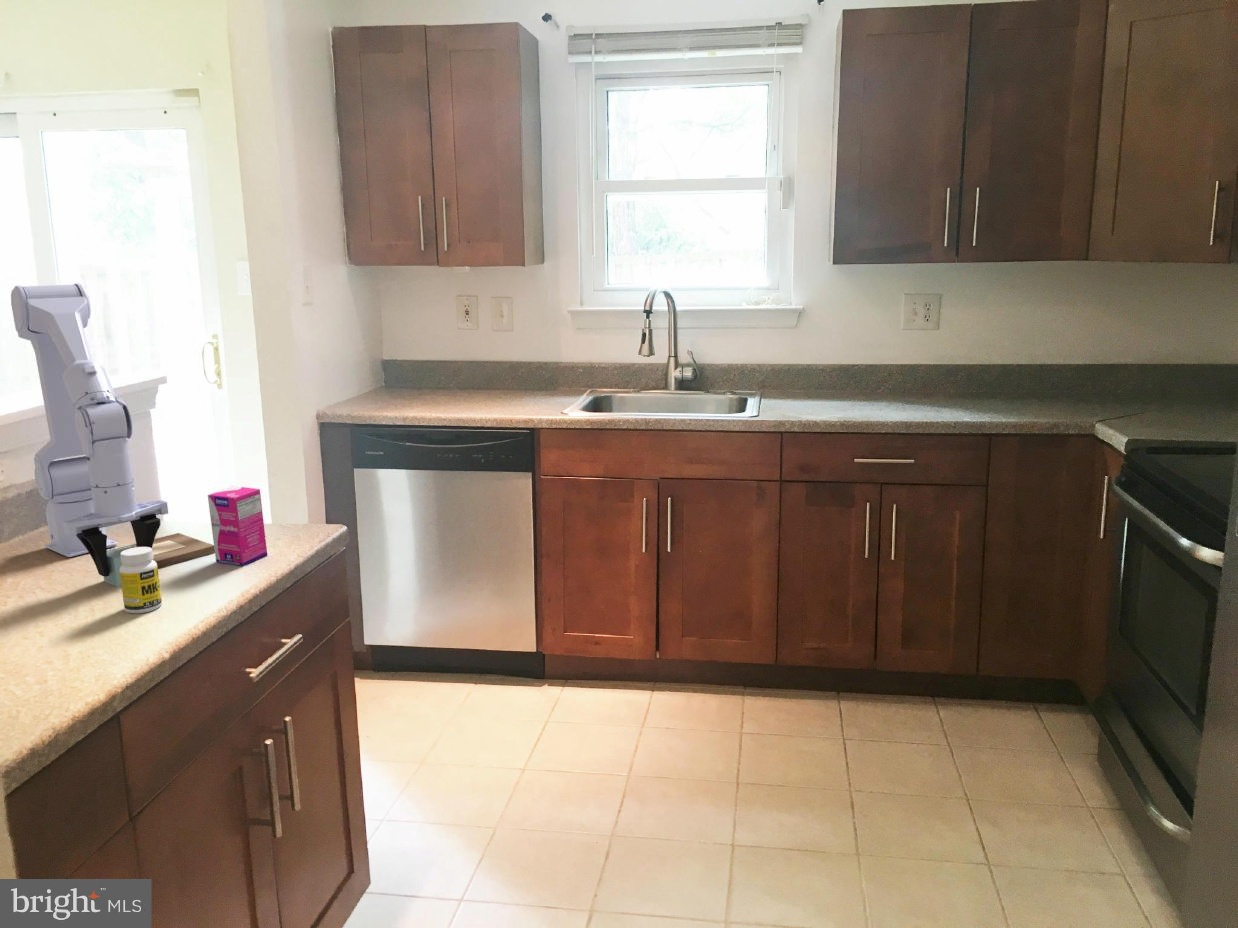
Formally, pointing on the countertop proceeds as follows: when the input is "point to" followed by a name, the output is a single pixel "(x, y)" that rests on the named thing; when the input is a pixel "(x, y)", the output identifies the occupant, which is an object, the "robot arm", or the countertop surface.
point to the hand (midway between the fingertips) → (124, 569)
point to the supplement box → (237, 525)
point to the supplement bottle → (139, 580)
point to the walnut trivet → (177, 549)
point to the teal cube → (115, 566)
